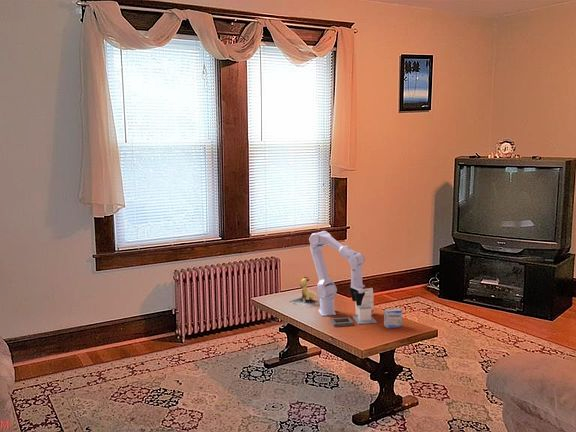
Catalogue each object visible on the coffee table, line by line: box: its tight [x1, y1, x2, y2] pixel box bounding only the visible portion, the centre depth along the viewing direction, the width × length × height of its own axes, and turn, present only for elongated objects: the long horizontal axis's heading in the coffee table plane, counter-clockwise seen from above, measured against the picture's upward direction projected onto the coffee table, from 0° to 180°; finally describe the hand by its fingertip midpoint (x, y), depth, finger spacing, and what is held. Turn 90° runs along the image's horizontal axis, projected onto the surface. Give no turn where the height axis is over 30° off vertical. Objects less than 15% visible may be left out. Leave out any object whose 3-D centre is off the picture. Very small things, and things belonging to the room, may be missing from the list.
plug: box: [357, 304, 372, 321], centre depth 289 cm, size 4×6×7 cm, turn 100°
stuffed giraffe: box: [289, 276, 320, 309], centre depth 323 cm, size 16×18×16 cm
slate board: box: [352, 315, 378, 325], centre depth 290 cm, size 11×10×1 cm
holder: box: [330, 316, 355, 328], centre depth 286 cm, size 8×10×2 cm
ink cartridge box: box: [354, 287, 375, 316], centre depth 298 cm, size 9×5×15 cm, turn 111°
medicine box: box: [383, 307, 403, 329], centre depth 279 cm, size 8×4×9 cm, turn 101°
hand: (356, 303), depth 288 cm, fingers open, 7 cm apart
